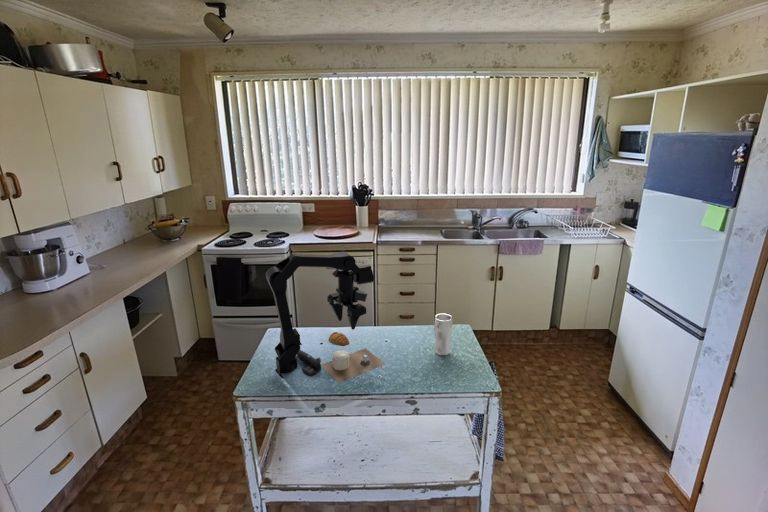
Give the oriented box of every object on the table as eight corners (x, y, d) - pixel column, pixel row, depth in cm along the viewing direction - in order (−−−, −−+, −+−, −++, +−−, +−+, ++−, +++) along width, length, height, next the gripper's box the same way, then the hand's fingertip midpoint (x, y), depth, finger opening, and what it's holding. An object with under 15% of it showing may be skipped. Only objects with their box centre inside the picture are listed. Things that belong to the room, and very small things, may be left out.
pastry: (353, 344, 161) (353, 336, 160) (341, 351, 156) (340, 342, 155) (339, 337, 167) (339, 329, 166) (326, 342, 163) (326, 334, 162)
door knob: (363, 369, 143) (363, 359, 142) (358, 365, 146) (358, 355, 145) (372, 366, 145) (371, 356, 144) (366, 362, 148) (366, 352, 147)
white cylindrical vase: (454, 354, 153) (456, 319, 148) (438, 357, 150) (440, 322, 146) (445, 345, 159) (446, 312, 155) (430, 349, 156) (431, 315, 152)
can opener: (326, 373, 141) (325, 360, 140) (309, 380, 137) (308, 366, 136) (304, 353, 155) (303, 341, 153) (287, 359, 151) (286, 346, 149)
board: (339, 386, 134) (339, 382, 133) (320, 367, 144) (320, 364, 144) (386, 366, 145) (386, 363, 145) (365, 350, 156) (365, 348, 155)
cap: (338, 372, 140) (337, 360, 138) (329, 364, 144) (329, 353, 143) (352, 366, 143) (351, 355, 142) (343, 359, 148) (343, 348, 146)
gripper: (378, 289, 142) (378, 328, 146) (350, 275, 156) (351, 311, 161) (352, 295, 136) (353, 336, 140) (326, 281, 150) (327, 318, 154)
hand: (346, 324), depth 149 cm, fingers open, 9 cm apart
